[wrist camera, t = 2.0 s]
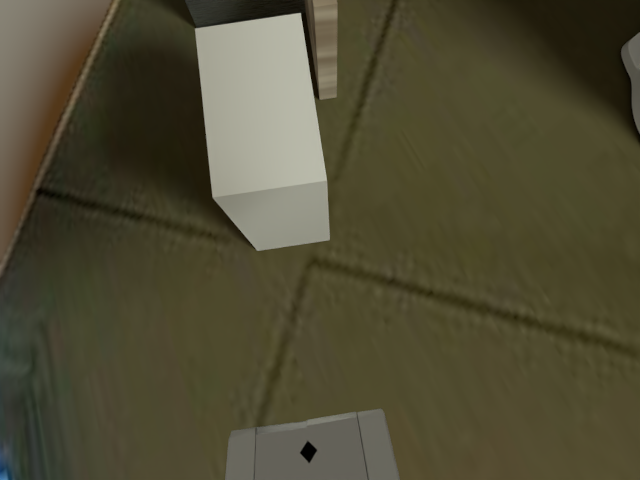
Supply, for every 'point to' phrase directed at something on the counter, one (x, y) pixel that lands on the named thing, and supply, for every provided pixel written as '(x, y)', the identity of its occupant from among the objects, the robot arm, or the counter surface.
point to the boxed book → (263, 130)
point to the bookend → (240, 10)
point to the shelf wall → (323, 44)
